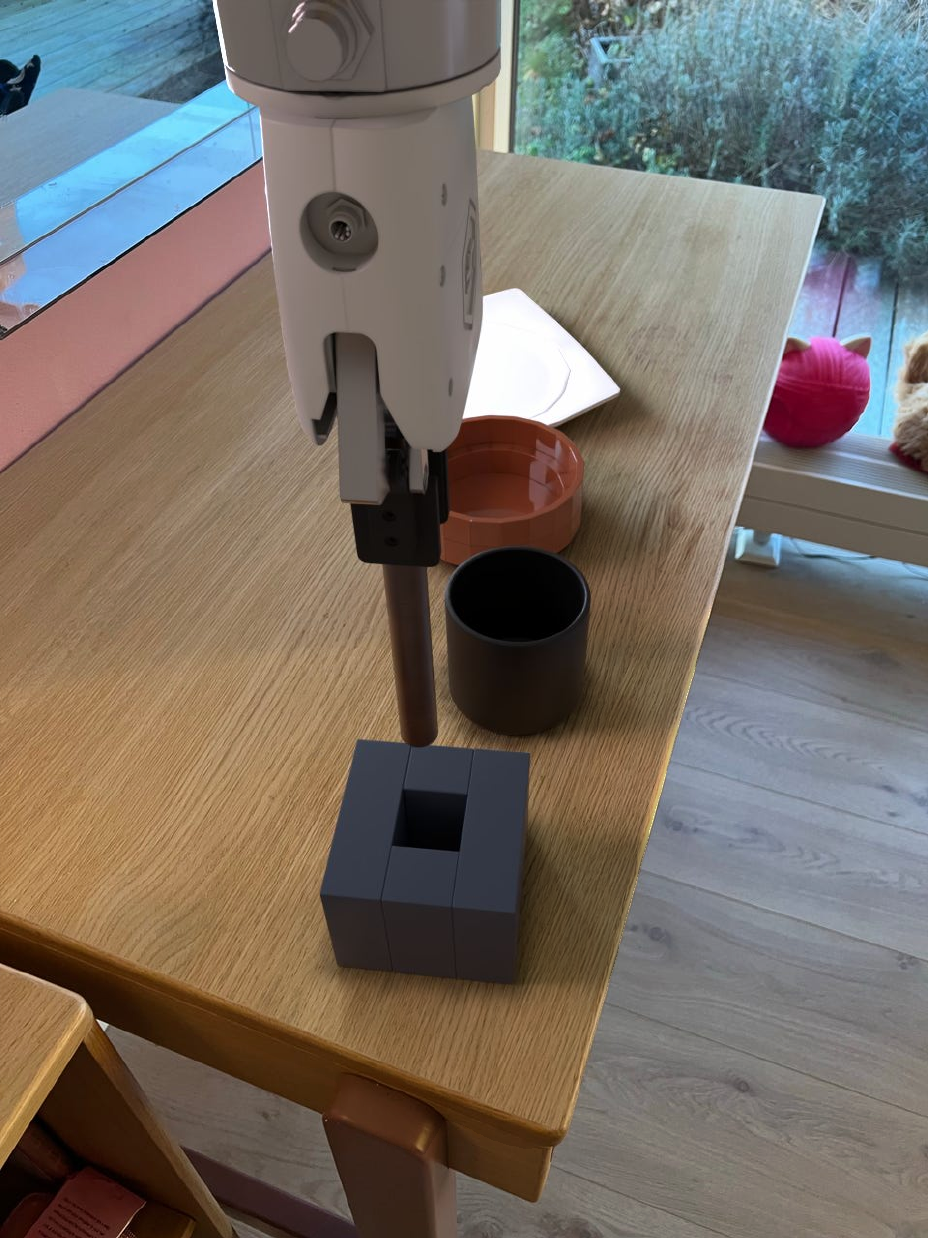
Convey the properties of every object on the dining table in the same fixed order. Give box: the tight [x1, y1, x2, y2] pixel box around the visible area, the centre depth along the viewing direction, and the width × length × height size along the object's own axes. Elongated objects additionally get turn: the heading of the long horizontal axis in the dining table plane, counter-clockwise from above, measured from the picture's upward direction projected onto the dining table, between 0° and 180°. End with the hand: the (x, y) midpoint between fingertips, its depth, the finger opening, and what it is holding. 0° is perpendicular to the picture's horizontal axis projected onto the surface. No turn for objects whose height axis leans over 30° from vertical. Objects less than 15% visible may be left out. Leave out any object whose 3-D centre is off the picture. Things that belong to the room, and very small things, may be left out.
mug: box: [444, 546, 592, 736], centre depth 68 cm, size 9×12×9 cm
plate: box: [462, 287, 621, 429], centre depth 97 cm, size 24×24×3 cm
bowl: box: [440, 415, 585, 567], centre depth 82 cm, size 14×14×6 cm
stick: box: [381, 437, 439, 748], centre depth 42 cm, size 2×2×18 cm
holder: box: [319, 738, 531, 985], centre depth 57 cm, size 10×10×8 cm
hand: (405, 536), depth 40 cm, fingers closed on stick, 1 cm apart
